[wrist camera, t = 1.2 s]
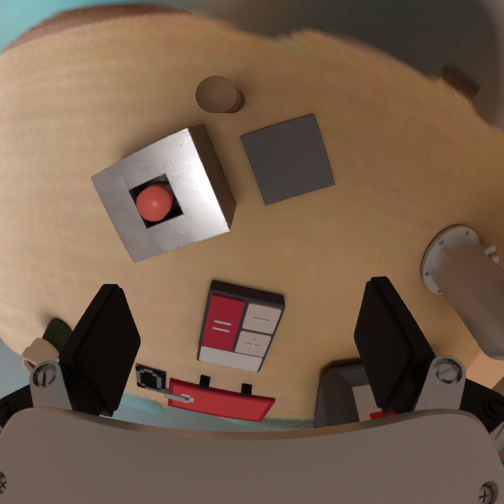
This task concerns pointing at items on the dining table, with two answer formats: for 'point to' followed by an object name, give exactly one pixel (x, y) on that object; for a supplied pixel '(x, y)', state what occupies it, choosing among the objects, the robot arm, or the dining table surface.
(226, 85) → the brown cylinder
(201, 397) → the red board with handle
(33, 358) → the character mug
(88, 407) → the robot arm
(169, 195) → the red ball
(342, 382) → the first aid kit
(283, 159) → the rest pad
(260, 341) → the calculator
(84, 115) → the dining table surface
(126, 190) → the guard box
